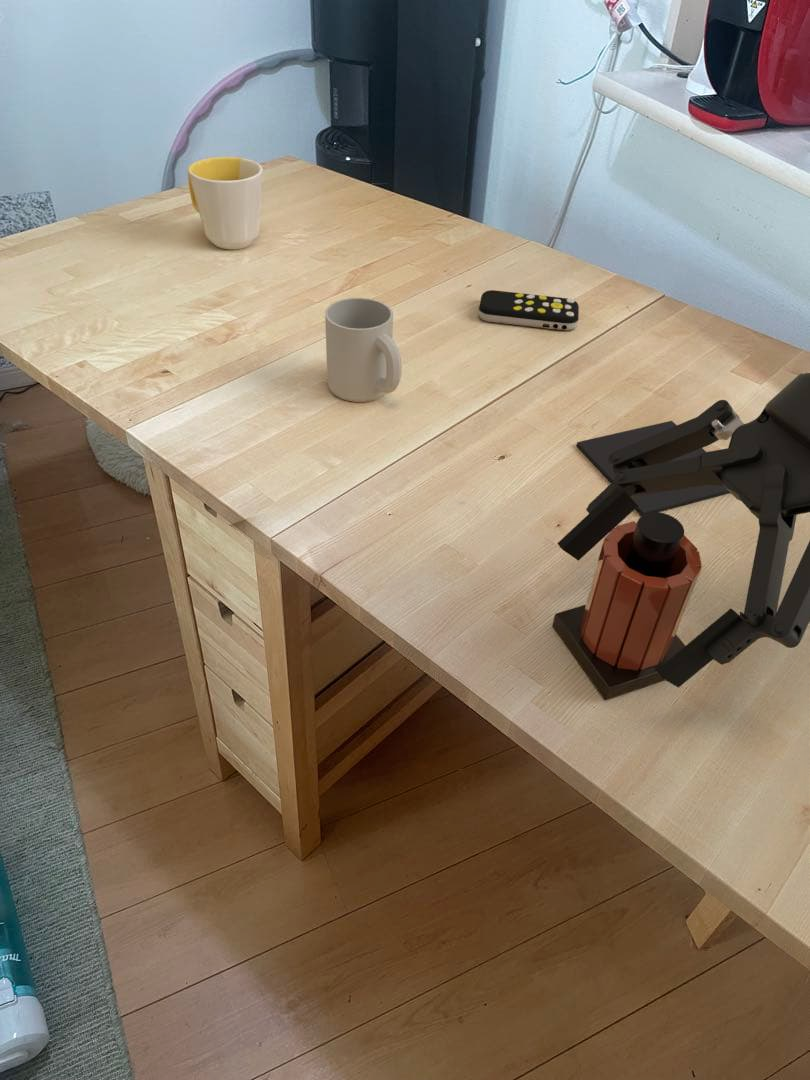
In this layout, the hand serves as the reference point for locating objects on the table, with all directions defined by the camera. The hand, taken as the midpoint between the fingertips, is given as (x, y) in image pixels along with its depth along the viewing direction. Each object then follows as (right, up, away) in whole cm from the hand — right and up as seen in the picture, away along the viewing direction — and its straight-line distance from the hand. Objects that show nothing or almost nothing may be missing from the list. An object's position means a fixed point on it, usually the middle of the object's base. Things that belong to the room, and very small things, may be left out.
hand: (613, 611), depth 61 cm
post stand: (+2, -3, +4) cm, 5 cm away
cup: (-20, +22, +30) cm, 42 cm away
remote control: (0, +34, +45) cm, 56 cm away
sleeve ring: (+2, -2, +3) cm, 4 cm away
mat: (+10, +13, +22) cm, 27 cm away
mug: (-42, +50, +60) cm, 89 cm away
